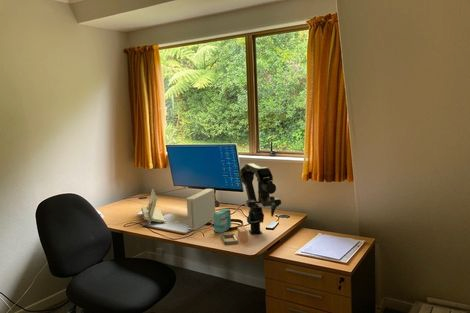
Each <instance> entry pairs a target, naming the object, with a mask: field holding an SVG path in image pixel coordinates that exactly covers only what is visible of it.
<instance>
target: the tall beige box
mask: <svg viewBox="0 0 470 313" xmlns="http://www.w3.org/2000/svg"><path fill="white" fill-rule="evenodd" d="M248 231H249V230H248V229H247V227H245V226H237V237H238V240H239V241H240V242H241V243H243V242H248V241H249V240H248V239H249V238H248V237H249V236H248V234H249V232H248Z"/></svg>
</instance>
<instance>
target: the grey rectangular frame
mask: <svg viewBox="0 0 470 313" xmlns="http://www.w3.org/2000/svg"><path fill="white" fill-rule="evenodd" d="M220 236H221V240H222V241H223V244H224V245H226V246H227V245H232V244H234V245H235V244H239V239H237V237H236V235H235V233H228V234H221V235H220ZM226 238H233V240H226Z"/></svg>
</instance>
